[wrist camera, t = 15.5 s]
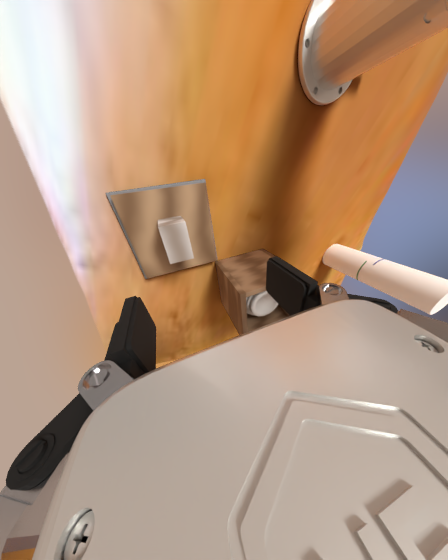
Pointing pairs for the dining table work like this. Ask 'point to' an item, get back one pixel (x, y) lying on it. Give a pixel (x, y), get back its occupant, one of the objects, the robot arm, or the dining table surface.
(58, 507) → the robot arm
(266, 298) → the coffee cup
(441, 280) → the cylindrical container
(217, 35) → the dining table surface
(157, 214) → the lid
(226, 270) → the box
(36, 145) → the dining table surface
